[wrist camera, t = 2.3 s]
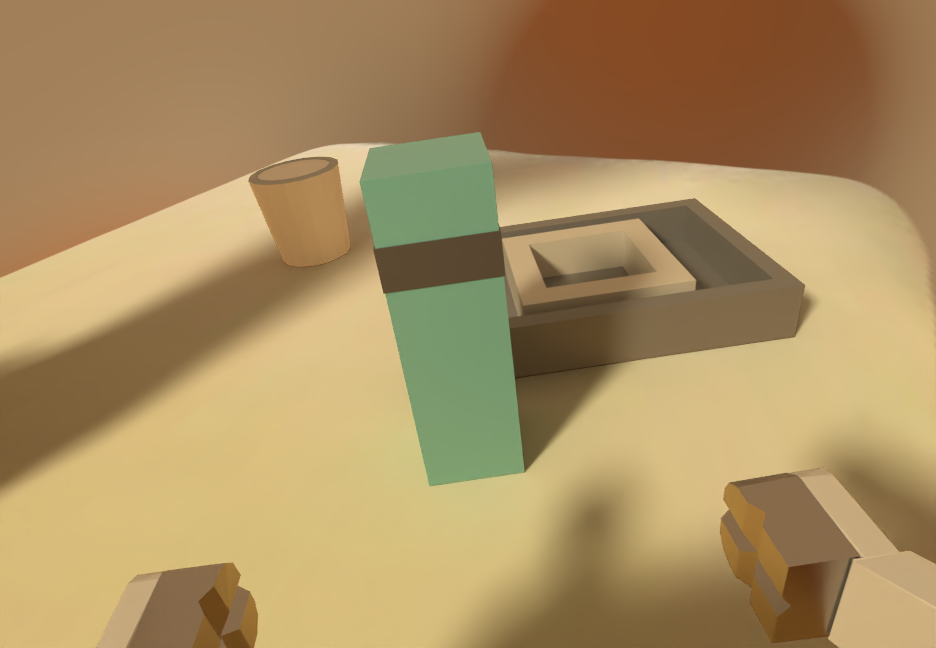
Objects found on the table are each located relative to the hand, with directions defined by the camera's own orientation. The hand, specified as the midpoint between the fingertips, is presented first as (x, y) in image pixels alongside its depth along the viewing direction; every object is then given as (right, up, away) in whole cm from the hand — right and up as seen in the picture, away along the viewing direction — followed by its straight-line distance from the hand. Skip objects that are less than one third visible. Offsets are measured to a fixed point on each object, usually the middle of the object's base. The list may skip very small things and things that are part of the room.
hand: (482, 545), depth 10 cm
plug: (0, -2, +16) cm, 16 cm away
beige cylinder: (-13, +9, +38) cm, 41 cm away
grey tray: (+7, +5, +25) cm, 27 cm away
